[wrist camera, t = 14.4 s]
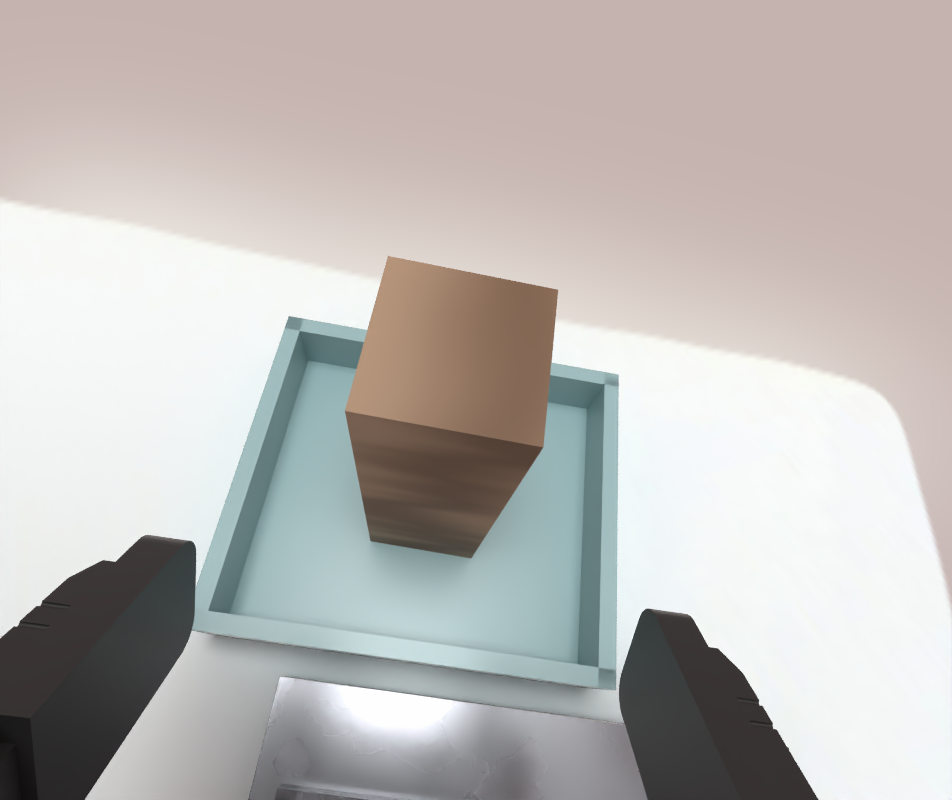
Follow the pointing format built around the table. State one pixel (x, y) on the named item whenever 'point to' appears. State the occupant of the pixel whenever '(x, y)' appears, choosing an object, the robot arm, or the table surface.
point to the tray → (406, 569)
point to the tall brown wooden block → (448, 403)
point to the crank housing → (434, 750)
